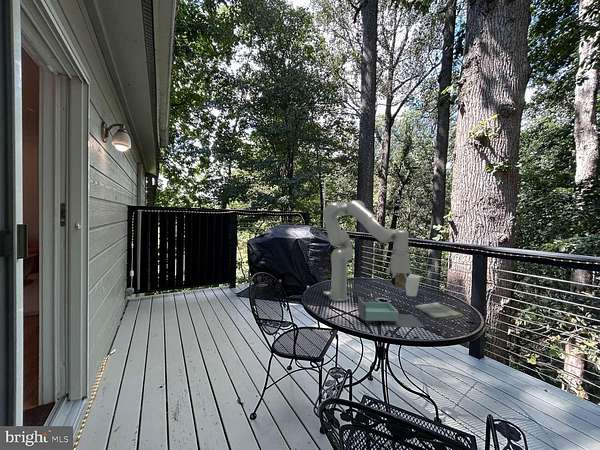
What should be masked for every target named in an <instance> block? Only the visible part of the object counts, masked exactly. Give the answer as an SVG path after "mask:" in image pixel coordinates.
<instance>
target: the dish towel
mask: <svg viewBox="0 0 600 450" xmlns="http://www.w3.org/2000/svg"><path fill="white" fill-rule="evenodd" d="M414 309H416V310H418V311H419V312H421V313H422V314H423V313H424V314H425V315H426V316H429V317H431V318H432V319H434V320H445V319H457V318H464V315H463V314H462V312H459V311H457V310H455V309H453V308H451V307H449V306H447V305H443V304H441V303H439V302H438V301H437V302H430V303H425V304H424V303H422V304H417V305H415V306H414Z"/></svg>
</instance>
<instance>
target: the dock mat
mask: <svg viewBox="0 0 600 450" xmlns="http://www.w3.org/2000/svg"><path fill="white" fill-rule="evenodd" d="M384 323H385V324H386V325H387V327H389V328H426V326H425V325H424V324H423V323H422V322H421V321H419V319H417V318H416V316H414V315H413V314H410V313H409V314H406V313H405V314H402V313H401V314H400V313H399V316H398V321H396V323H395V324H394V325H393V324H391V322H390V321H384Z"/></svg>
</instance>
